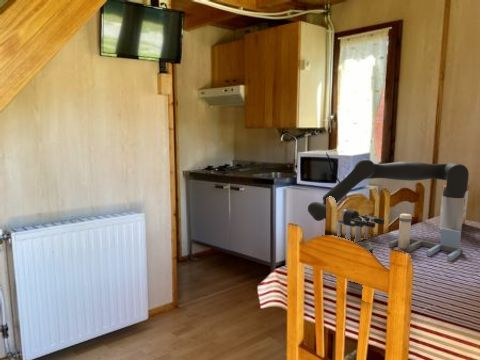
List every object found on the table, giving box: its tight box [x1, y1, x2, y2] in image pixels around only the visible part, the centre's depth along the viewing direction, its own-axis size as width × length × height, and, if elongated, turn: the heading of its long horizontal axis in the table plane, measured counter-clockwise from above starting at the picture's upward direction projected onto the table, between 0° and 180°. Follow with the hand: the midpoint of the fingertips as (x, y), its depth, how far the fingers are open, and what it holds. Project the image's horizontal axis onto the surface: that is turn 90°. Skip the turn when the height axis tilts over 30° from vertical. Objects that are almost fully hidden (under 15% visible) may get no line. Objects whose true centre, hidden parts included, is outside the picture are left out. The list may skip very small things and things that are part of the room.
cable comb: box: [388, 228, 465, 262], centre depth 159 cm, size 13×25×9 cm, turn 45°
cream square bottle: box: [397, 213, 413, 250], centre depth 162 cm, size 5×5×14 cm
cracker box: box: [438, 184, 470, 225], centre depth 201 cm, size 14×6×21 cm, turn 117°
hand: (379, 223), depth 170 cm, fingers open, 8 cm apart
